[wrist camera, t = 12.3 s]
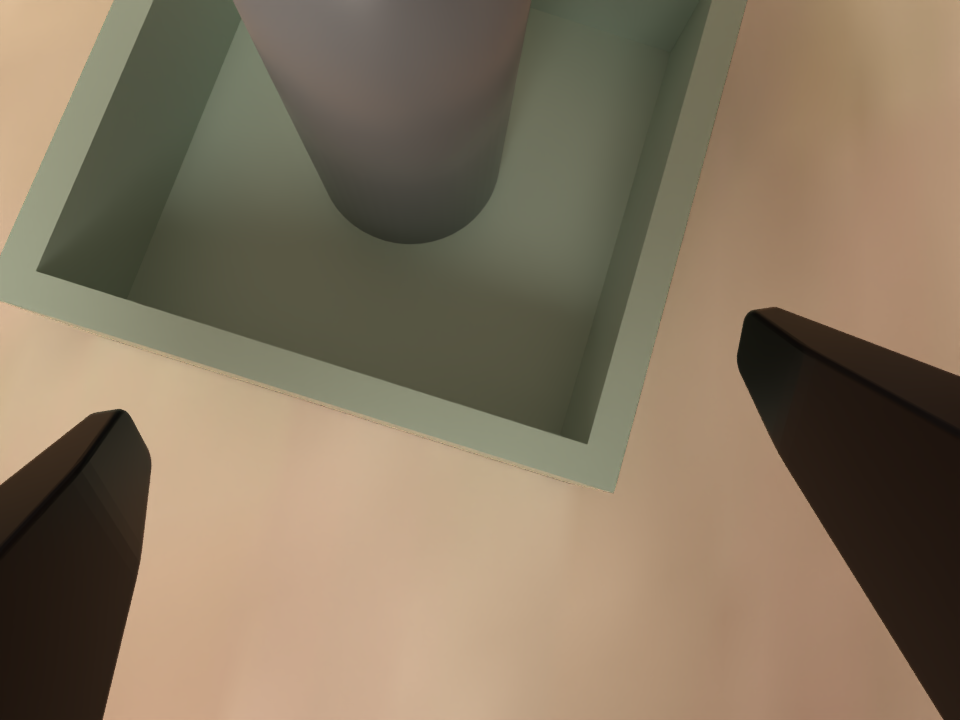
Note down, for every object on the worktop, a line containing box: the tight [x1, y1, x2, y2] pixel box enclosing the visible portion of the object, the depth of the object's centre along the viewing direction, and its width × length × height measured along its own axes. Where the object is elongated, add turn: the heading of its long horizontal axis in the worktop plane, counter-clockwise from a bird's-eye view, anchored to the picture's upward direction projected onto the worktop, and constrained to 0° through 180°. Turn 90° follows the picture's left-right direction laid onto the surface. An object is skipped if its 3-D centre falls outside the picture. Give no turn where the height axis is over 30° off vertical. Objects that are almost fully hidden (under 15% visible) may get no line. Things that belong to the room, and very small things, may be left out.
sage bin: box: [0, 0, 747, 493], centre depth 17 cm, size 14×14×4 cm
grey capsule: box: [233, 0, 531, 244], centre depth 13 cm, size 5×5×11 cm
